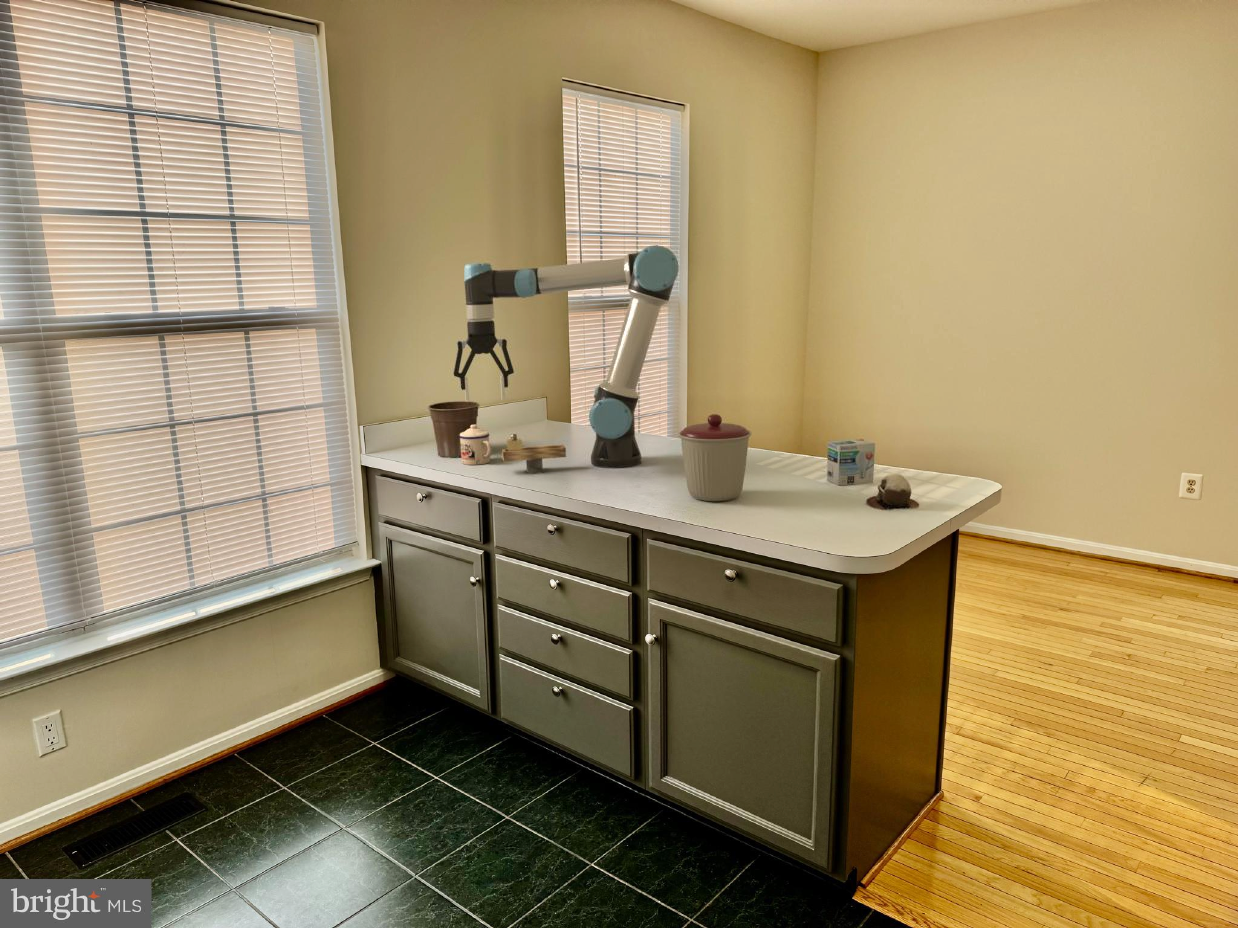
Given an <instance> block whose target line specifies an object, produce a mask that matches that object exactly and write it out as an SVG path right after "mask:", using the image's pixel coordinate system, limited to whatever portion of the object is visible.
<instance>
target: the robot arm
mask: <svg viewBox="0 0 1238 928" xmlns="http://www.w3.org/2000/svg"><path fill="white" fill-rule="evenodd" d="M463 272H464V275H463V276H464V277H463V279H464V280H463V282H464V283H463V284H464V293H465V310H466V319H467V320H468V321H467V323H466V326H467V339H466V340H457V342H456V344H457V352H456V359H455V364H454V369H453V376H454V377H456V378H459V381H460V389H461V390H462V391H464V393H465V401H466V402H469V401H470V397H469V395H470V394H469V379H468V377H466V375H467V374H468V371H469V369H470V367H471V365H472V362H473V360H474V358H475V356H476V355H482V354H485V355H486V354H487V355H488V354H490V355H491V357H492V359H493V360H494V362H495V364H496V365H497V368H498V369H499V370H500V372H501V373H502V375H500V377H499V378H500V393H501V394H500V395H501V396H500V397H501V398H500V399H501V400H502V401H505V400H506V393H505V388H509V379H508V378H509V376H510V375H513V374H514V373H515V370H514V368H513V364H512V360H511V357H510V355H509V351H508V348H507V346H508V341H507V339H505V338H503V339H501V338H499V339H498V338H497V337H496V328H495V327H496V325H495V321H494V320H493V319H494V318H495V311H494V310H495V309H494V298H495V299H501V298H503V299H504V298H507V299H508V298H509V299H510V298H511V299H514V298H516V299H517V298H521V299H525V298H532V297H534V296H538V295H545V294H552V293H553V294H555V293H563V292H572V291H573V292H575V291H583V290H594V289H601V288H611V287H622V286H628V287H627V291H628V293H629V295H630V299H629V303H628V306H627V310H626V313H625V316H624V319H623V323H622V326H621V330H620V334H619V337H618V340H617V343H616V347H615V351H614V353H613V357H612V360H611V364H610V367H609V370H608V373H607V377H606V379H605V380H604V381H603V382H601V383H599V384H598V387H596V388H595V389H594V394H593V398H594V400H593V401H594V402H593V405H592V407H591V408H590V411H589V415H588V418H589V419H588V421H589V425H590V426H591V429H592V430H593V431H594V433H595V441H594V444H593V448H592V450H591V455H590V464H591V465H592V466H595V467H598V468H609V469H611V468H627V467H628V468H629V467H632V466H637V465H640V464H641V463H642V453H641V451H640V448H639V445H638V442H637V439H636V430H635V429H636V428H635V427H636V426H635V421H636V420H635V411H636V408H637V404H638V400H639V397H640V396H639V394H638V392H637V386H638V383H639V379H640V377H641V374H642V371H643V370H642V369H643V367H644V364H645V359H646V357H647V355H648V349H649V347H650V343H651V340H652V338H653V334H654V331H655V327H656V323H657V321H658V317H659V314H660V311H661V307H662V306H663V305H665V304H667V303H669V300H670V298H671V294H672V291H673V287H674V284H675V283H676V282H675V281H676V279H677V277H678V276H679V275H678V274H679V262H678V258H677V256H676V255H675V253H673V251H672V250H670V249H669V248H667V247H665V246H663V245H657V244H655V245H649V246H647V247H645V248H644V249H642V250H640V251H639V252H635V253H628V254H626V255H625V256H624V257H622V258H614V259H603V260H596V261H595V260H594V261H587V262H578V263H571V264H570V263H569V264H562V265H551V266H541V267H533V268H520V269H501V270H499V269H498V270H495V269H493V268H492V264H491V263H490V262H489V263H487V262H486V263H485V262H481V263H478V262H477V263H467V264H465V266H464V271H463ZM497 344H498V347H501V350H502V353H503V356H504V360H505V364H506V367H507V370H506V368H505V367H504V365H503V363H502V362H501V360H500V359H499V357H498V355H497V353H496V352H495V350H494V348H495V346H496V345H497ZM466 345H467V346H468V347H469V348H470V352H469V355H468V357H467V358H466V361H465V363H464V366H463V368H462V371H461V372H460V368H461V361H462V356H463V350H464V349H465V348H466Z"/></svg>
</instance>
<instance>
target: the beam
mask: <svg viewBox="0 0 1238 928" xmlns="http://www.w3.org/2000/svg"><path fill="white" fill-rule="evenodd" d="M566 451H567V448H566V446H564V444H558V445H557V444H554V445H542V446H528V447H527V446H525V447H523V446H522V450H521V451H507V448H502V449H501V458H502V460H503V462H515V461H525V463H526V470H527V472H528V474H531V473H532V474H541V473H542V474H543V473H544V465H543V459H544V460H545V459H557V458H558V459H559V458H566V457H567V452H566Z"/></svg>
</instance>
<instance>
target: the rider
mask: <svg viewBox="0 0 1238 928" xmlns="http://www.w3.org/2000/svg"><path fill="white" fill-rule="evenodd" d="M517 435H518V434H517V433H512V434H511V435H510V438H509V439H508V438H507V439H506V449H507V451H521V450H522V448H523V445H522V444H523V443H522V442H523V441H522V439H521V438H518V436H517Z"/></svg>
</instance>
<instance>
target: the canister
mask: <svg viewBox="0 0 1238 928" xmlns="http://www.w3.org/2000/svg"><path fill="white" fill-rule="evenodd" d="M722 421H723V419H722V416H721V415H720V414H717V413H715V414H714V413H713V414H709V415H708V417H707V422H705V423H697V424H691V425H689V426H686V427H684V428H683V429H682V430H680V431H679V432H678V434H677V436H678V437H679V438H680V439H681V440H680V441H681V443H680V444H681V450H682V458H683V466H684V467H683V468H684V475H685V481H686V486H687V487H686V488H687V490H688V493H689V494H690V496H691V497H692V498H694V499H696V500H699V501H703V502H704V501H705V502H724V501H725V502H726V501H730V500H734V499H736V498H738V497H739V496H740V494H741V492H743V491H742V490H743V487H744V482H745V481H744V480H745V473H746V467H747V466H746V465H747V457H748V450H749V448H748V447H749V438H750V437H751V436H752V432H751V430H749V429H747V428H746V427H744V426H742V425H739V424H734V423H728V422H726V423H725V422H722Z"/></svg>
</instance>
